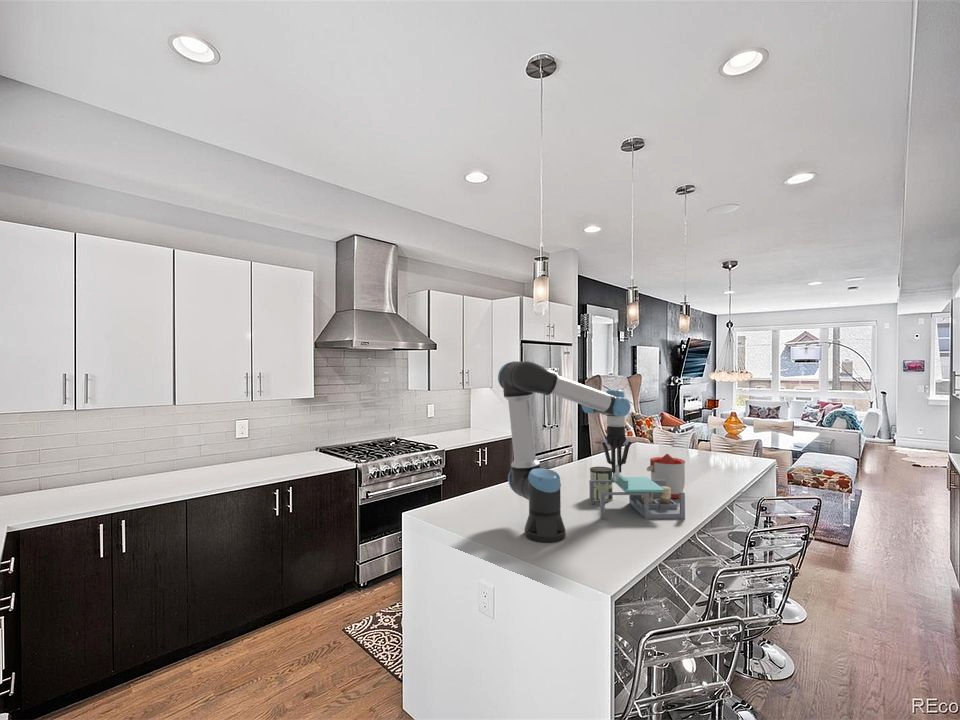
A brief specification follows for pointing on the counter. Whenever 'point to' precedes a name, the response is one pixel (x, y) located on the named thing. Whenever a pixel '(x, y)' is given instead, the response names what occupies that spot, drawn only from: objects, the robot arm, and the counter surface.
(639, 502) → the frame
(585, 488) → the counter surface
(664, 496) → the tan wooden cylinder
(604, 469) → the coffee can
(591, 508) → the counter surface
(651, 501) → the tan rounded cylinder
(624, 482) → the lid
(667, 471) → the citrus juicer
